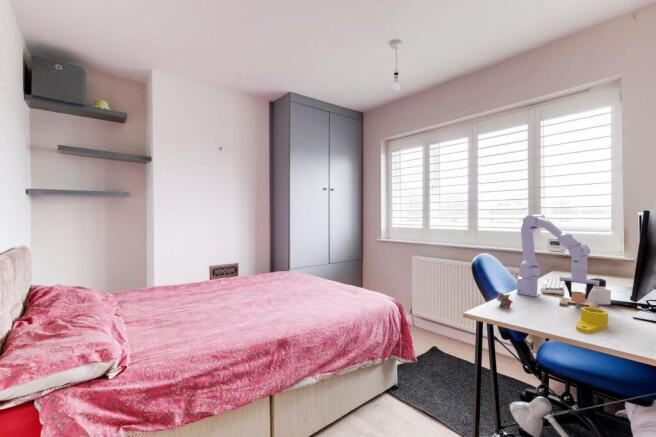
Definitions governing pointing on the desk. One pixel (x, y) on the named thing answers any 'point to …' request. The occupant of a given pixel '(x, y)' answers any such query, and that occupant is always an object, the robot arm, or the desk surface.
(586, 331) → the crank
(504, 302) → the geometric puzzle
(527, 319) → the desk surface
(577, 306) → the post
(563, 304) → the wooden u-shaped block
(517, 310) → the desk surface
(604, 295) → the medicine bottle
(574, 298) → the hollow octagonal tube
